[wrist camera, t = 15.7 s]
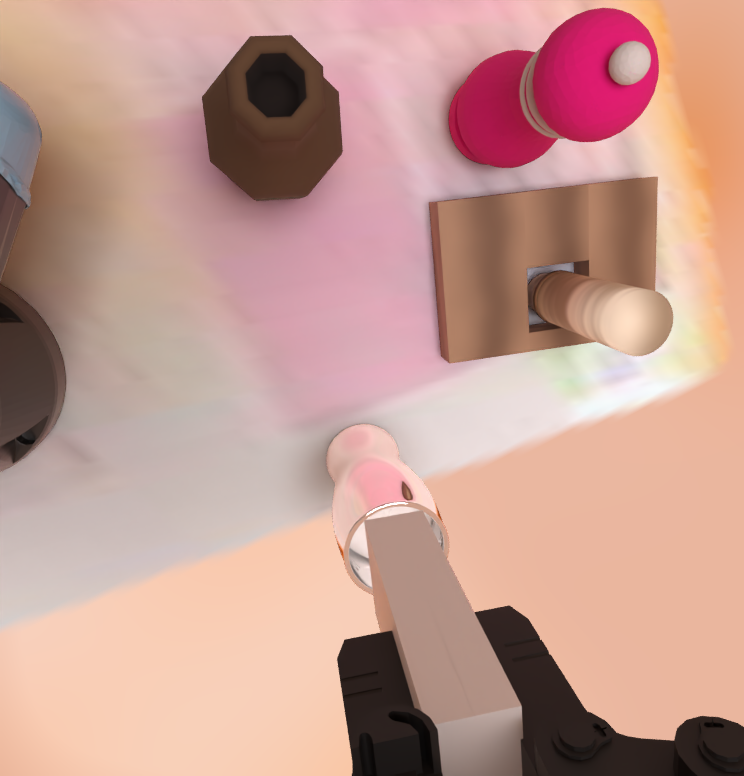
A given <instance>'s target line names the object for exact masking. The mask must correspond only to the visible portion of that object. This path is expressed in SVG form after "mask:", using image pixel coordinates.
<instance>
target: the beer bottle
mask: <svg viewBox="0 0 744 776" xmlns="http://www.w3.org/2000/svg"><path fill="white" fill-rule="evenodd" d="M202 101H203V109H204V117H205V125H206V133H207V141H208V149H209V157H210V161H211V162H212V163H213V164H214V165H215V166H216V167H217V168H219V169H220V170H221V171H222V172H223V173H224V174H225V175H227V176H228V177H229V178H230V179H231V180H232V181H234V182H235V183H236V184H237V185H238V186H239V187H240V188H242V189H243V190H244V191H245V192H246V193H247V194H248V195H250V196H251V197H252V198H253V199H254V200H256V201H262V200H279V199H295V198H302V197H305V196H307V195H308V194H309V193H310V192H311V191H312V189H313V188H314V187H315V186H316V185H317V183H318V182H319V181H320V180H321V179H322V177H323V176H324V175H325V174H326V172H327V171H328V170H329V169H330V168H331V166H332V165H333V164H334V163H335V162H336V160H337V159H338V158H339V157H340V155H341V154H342V151H343V150H342V135H341V121H340V106H339V92H338V91H337V90H336V89H335V88H334V87H333V86H332V85H331V84H330V83H329V82H328V81H327V80H326V79H325V78H324V77H323V66H322V65H321V64H320V63H319V62H318V61H317V60H316V59H315V58H314V57H313V56H312V55H311V54H310V53H309V52H308V51H307V50H306V49H305V48H304V47H303V46H302V45H301V44H300V43H299V42H298V41H297V40H296V39H295V38H294V37H293V36H292V35H285V36H250V37H249V39H248V40H247V41H246V42H245V44H244V45H243V46H242V47H241V49H240V50H239V51H238V52H237V53H236V55H235V56H234V57H233V58H232V60H231V61H230V62H229V64H228V65H227V66H226V67H225V69H224V70H223V71H222V72H221V74H220V75H219V76H218V78H217V79H216V80H215V81H214V83H213V84H212V85H211V86H210V88H209V89H208V90H207V92H206V93H205V94H204V95H203V97H202Z"/></svg>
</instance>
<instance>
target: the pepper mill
mask: <svg viewBox="0 0 744 776" xmlns="http://www.w3.org/2000/svg"><path fill="white" fill-rule="evenodd" d="M658 73H659V64H658V54H657V49H656V46H655V43H654V40H653V38H652V36H651V34H650V32H649V31H648V29H647V28H646V27H645V26H644V25H643V24H642V23H641V22H640V21H639V20H638V19H637V18H635V17H634V16H633V15H631V14H629V13H627V12H624V11H621V10H617V9H611V8H599V9H593V10H588V11H585V12H582V13H580V14H577V15H575V16H573V17H572V18H570V19H568V20H566V21H565V22H564V23H563V24H561V25H560V26H559V27H558V28H557V29H556V30H555V31H554V32H552V33H551V35H550V36H549V38H548V39H547V41H546V42H545V44H544V45H543V47H542V48H540V49H539V50H538V51H537V52H536V53H535V52H530V51H523V50H512V51H506V52H503V53H500V54H497V55H494V56H492V57H490V58H488V59H486V60H485V61H483V62H482V63H480V64H479V65H478V66H477V67H476V68H475V69H474V70H473V71H472V73H471V74H470V75H469V77H468V78H467V80H466V81H465V83H464V84H463V85H462V86H461V88H460V89H459V90H458V92H457V93H456V95H455V97H454V99H453V101H452V104H451V107H450V112H449V128H450V132H451V136H452V139H453V141H454V143H455V145H456V147H457V148H458V149H459V150H460V151H461V153H462V154H463V155H465V156H466V157H467V158H469V159H471V160H472V161H474V162H478V163H481V164H489V165H492V166H495V167H500V168H513V167H519V166H522V165H524V164H527V163H529V162H531V161H534V160H535V159H537V158H539V157H540V156H542V155H543V154H544V153H545V152H546V151H547V150H549V149H550V147H551V146H552V145H553V144H554V143H555V141H556V140H557V139H558V138H559V139H563V138H567V139H569V140H572V141H578V142H595V141H600V140H603V139H606V138H609V137H612V136H614V135H616V134H618V133H620V132H621V131H623V130H624V129H626V128H627V127H628V126H629V125H631V124H632V123H633V122H634V121H635V120H636V119H637V118H638V117H639V116H640V115H641V114H642V112H643V111H644V110H645V108H646V107H647V105H648V104H649V102H650V100H651V98H652V96H653V94H654V91H655V87H656V84H657V80H658Z"/></svg>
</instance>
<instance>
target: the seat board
mask: <svg viewBox="0 0 744 776" xmlns="http://www.w3.org/2000/svg"><path fill="white" fill-rule="evenodd" d="M657 183H658V177H648V178H636V179H628V180H619V181H610V182H602V183H593V184H585V185H576V186H567V187H559V188H550V189H542V190H533V191H524V192H516V193H507V194H499V195H490V196H481V197H473V198H464V199H456V200H447V201H438V202H430V203H429V209H430V221H431V234H432V247H433V259H434V272H435V285H436V297H437V310H438V323H439V335H440V348H441V356H442V357H443V358H444V359H445V360H446V361H447V362H448V363H456V362H463V361H469V360H476V359H483V358H490V357H496V356H503V355H510V354H517V353H523V352H530V351H537V350H544V349H551V348H557V347H564V346H571V345H578V344H584V343H591V342H596V341H594V340H591V339H589V338H586V337H584V336H581V335H579V334H577V333H574V332H572V331H569V330H567V329H564V328H562V327H560V326H557V325H554V324H551V323H542V324H535V325H529V317H528V290H527V268H532V267H539V266H547V265H555V264H562V263H570V262H574V274H579V275H583V276H588V277H593V278H597V279H602V280H606V281H611V282H616V283H620V284H625V285H629V286H634V287H639V288H643V289H648V290H652V291H655V273H656V228H657Z"/></svg>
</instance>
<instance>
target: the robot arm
mask: <svg viewBox="0 0 744 776" xmlns="http://www.w3.org/2000/svg"><path fill="white" fill-rule="evenodd" d="M41 143H42V134H41V129H40V126H39V124H38V121H37V119H36V116H35V114H34V113H33V111H32V110H31V109H30V106H29V105H28V104H27V103H26V102H25V101H24V100H23V99H22V98H21V97H20V96H19V95H18V94H16V93H15V92H14V91H13V90H11V89H10V88H9V87H8V86H6V85H5V84H3V83H2V82H0V282H1V279H2V276H3V273H4V270H5V267H6V264H7V261H8V257H9V254H10V251H11V248H12V245H13V242H14V239H15V236H16V233H17V230H18V227H19V224H20V221H21V218H22V215H23V212H24V209H28V208H29V206H30V204H31V193H30V191H29V189H30V186H31V182H32V178H33V174H34V171H35V167H36V163H37V159H38V156H39V152H40V148H41ZM65 385H66V379H65V369H64V363H63V359H62V355H61V352H60V349H59V347H58V344H57V342H56V340H55V338H54V336H53V334H52V333H51V331H50V329H49V328H48V326H47V325H46V323H45V322H44V321H43V319H42V318H41V317H40V316H39V315H38V313H37V312H36V311H35V310H34V309H33V308H32V307H31V306H30V305H29V304H28V303H27V302H25V301H24V300H23V299H22V298H21V297H19V296H18V295H17V294H15V293H14V292H12V291H11V290H9V289H8V288H6V287H4V286H2V285H1V284H0V472H1V471H3V470H5V469H7V468H9V467H11V466H13V465H14V464H16V463H18V462H19V461H20V460H22V459H23V458H25V457H26V456H27V455H28V454H29V453H30V452H31V451H32V450H33V449H34V448H35V447H36V446H37V445H38V444H39V443H40V442H41V441H42V440H43V439H44V438H45V437H46V436H47V434H48V433H49V432H50V430H51V429H52V427H53V426H54V424H55V422H56V420H57V418H58V416H59V414H60V411H61V408H62V405H63V401H64V396H65ZM364 524H365V532H366V540H367V548H368V556H369V564H370V572H371V580H372V588H373V596H374V604H375V611H376V616H377V620H378V624H379V628H380V631H381V633H376V634H371V635H366V636H362V637H356V638H351V639H346V640H344V643H343V645H342V648H341V650H340V653H339V656H338V658H337V661H338V667H339V675H340V681H341V688H342V694H343V701H344V708H345V715H346V721H347V727H348V734H349V741H350V748H351V754H352V761H353V773H352V776H744V727H743V726H741V725H739V724H738V723H735V722H732V721H729V720H726V719H723V718H719V717H707V716H700V717H696V718H692V719H689V720H686V721H685V722H684V723H683V724H682V725H680V726H679V728H677V731H676V736H675V740H674V741H670V740H655V739H641V738H635V737H628V736H625V735H621V734H619V733H616V732H615V731H614V729H613V728H611V726H610V725H609V724H608V723H607V722H606V721H605V720H603V719H601V718H599V717H598V716H596V715H594V714H592V713H590V712H587V711H586V709H585V708H584V707H583V705H582V704H581V702H580V700H579V699H578V697H577V696H576V694H575V692H574V691H573V689H572V688H571V686H570V684H569V683H568V681H567V680H566V678H565V677H564V675H563V673H562V672H561V670H560V669H559V667H558V666H557V664H556V662H555V661H554V659H553V658H552V656H551V655H549V652H548V650H547V648H546V647H545V645H544V643H543V642H542V640H540V638H539V635H538V634H537V632H536V631H535V629H534V627H533V626H532V624H531V623H530V621H529V619H528V618H526V617H525V616H523V615H522V614H521V613H519V612H518V611H516V610H515V609H513V608H512V607H511V606H505V607H500V608H494V609H489V610H484V611H479V612H474V611H473V609H472V607H471V605H470V603H469V601H468V599H467V597H466V595H465V593H464V591H463V589H462V587H461V585H460V583H459V581H458V580H457V577H456V575H455V573H454V571H453V570H452V568H451V566H450V564H449V562H448V560H447V558H446V556H445V554H444V552H443V550H442V548H441V546H440V544H439V542H438V540H437V538H436V536H435V534H434V532H433V530H432V528H431V526H430V524H429V522H428V520H427V518H426V516H425V514H424V512H423V510H421V511H415V512H409V513H404V514H398V515H392V516H386V517H381V518H375V519H369V520H364Z"/></svg>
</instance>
